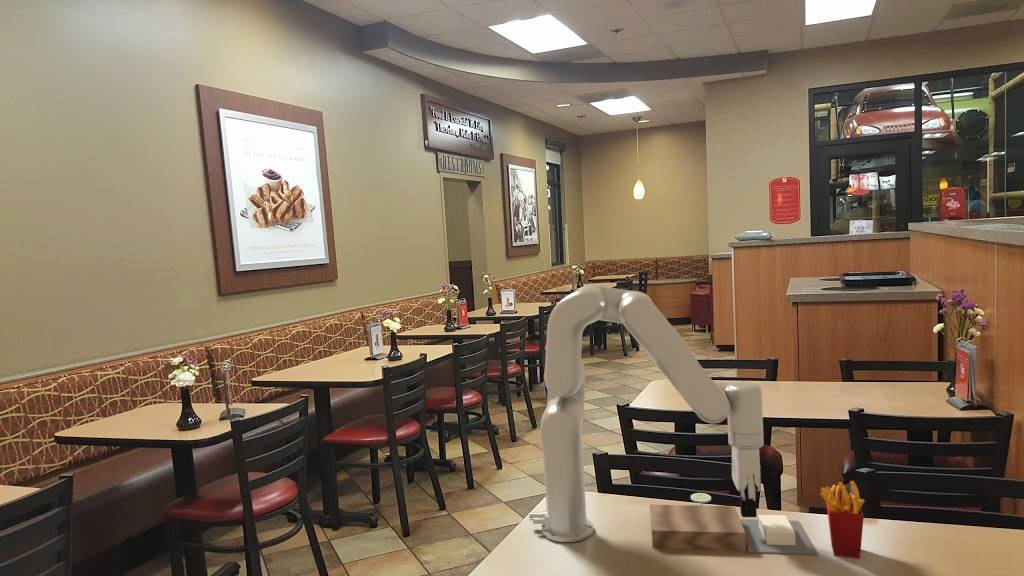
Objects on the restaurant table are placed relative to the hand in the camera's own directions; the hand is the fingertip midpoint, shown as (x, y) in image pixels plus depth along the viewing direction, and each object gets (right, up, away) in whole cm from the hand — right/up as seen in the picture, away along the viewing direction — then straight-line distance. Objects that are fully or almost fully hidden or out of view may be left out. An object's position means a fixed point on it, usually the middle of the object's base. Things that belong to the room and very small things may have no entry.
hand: (748, 515), depth 144 cm
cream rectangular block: (+6, -2, -1) cm, 6 cm away
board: (-11, -5, +3) cm, 13 cm away
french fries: (+17, -5, -8) cm, 19 cm away
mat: (+6, -5, -1) cm, 7 cm away
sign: (-6, -5, +18) cm, 19 cm away
